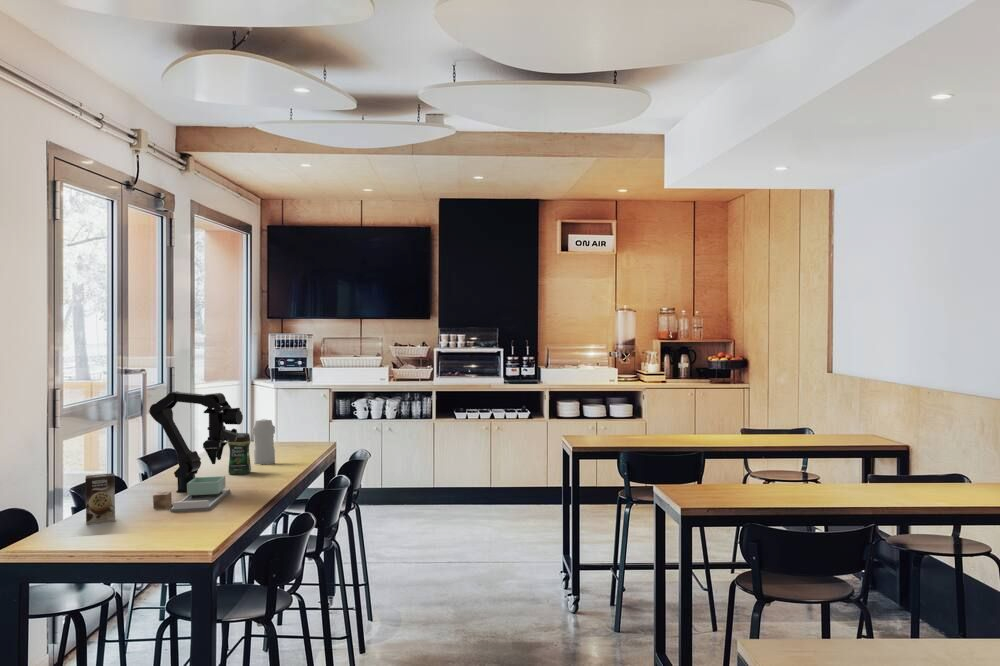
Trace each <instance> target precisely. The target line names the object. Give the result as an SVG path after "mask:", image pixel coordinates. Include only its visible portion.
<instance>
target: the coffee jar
mask: <svg viewBox="0 0 1000 666" xmlns="http://www.w3.org/2000/svg"><path fill="white" fill-rule="evenodd" d="M237 433H238V437H237V440H236V441H235V442H231V441H230V440H229V441H228V443H227V445H228V447H229V460H228V474H229V475H233V474H239V475H246V474H249V473H251V471H252V464H251V457H250V444H251V436H250V433H248V432H237Z"/></svg>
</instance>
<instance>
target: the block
mask: <svg viewBox="0 0 1000 666" xmlns="http://www.w3.org/2000/svg"><path fill="white" fill-rule="evenodd" d="M152 503H153V506H152V507H153V509H168V508H169V507H170V506H171V505H172V503H173V502H172V491H162V492H161V491H160V492H156V493H155V494H153V495H152Z"/></svg>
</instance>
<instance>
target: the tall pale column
mask: <svg viewBox="0 0 1000 666" xmlns="http://www.w3.org/2000/svg"><path fill="white" fill-rule="evenodd" d="M272 421H273V420H272V419H267V418H266V419H265V418H263V419H257V420H255V422H254V425H253V427H252V435H253V439H254V441H253V442H254V449H253V457H254V458H253V459H254V460H253V461H254V464H266V465H275V464H276V457H275V456H276V453H275V452H276V449H275V445H274V441H275V439H274V437H275V434H276V427H275V425H274V424H273V422H272Z"/></svg>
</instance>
